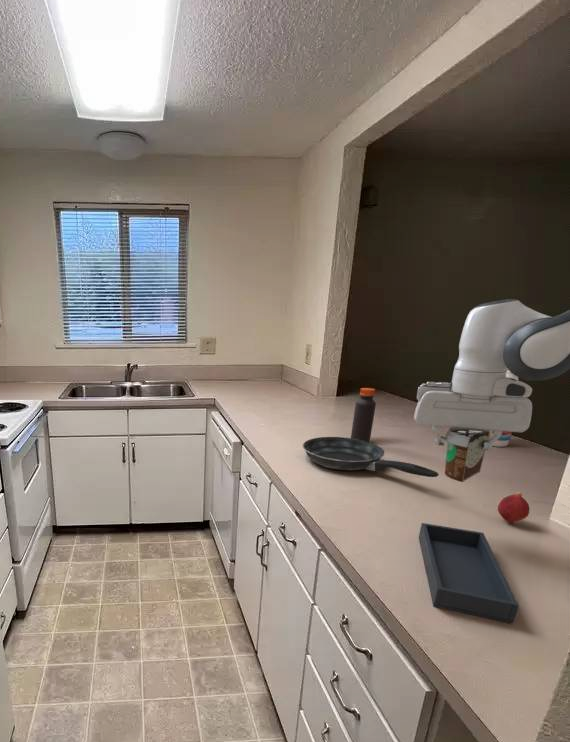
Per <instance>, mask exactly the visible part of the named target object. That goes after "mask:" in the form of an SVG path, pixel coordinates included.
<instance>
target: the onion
mask: <svg viewBox="0 0 570 742" xmlns="http://www.w3.org/2000/svg"><path fill="white" fill-rule="evenodd" d="M497 511H498V514H499V515H500V516H501V518H503V519H504V520H505V521H506V522H508V523H509V524H513V523H516V522H519V521H523V520H524V519H526V518H527V517H528V516H529V514H530V504H529V502H528V501H527V500H526V499H525V498H524V497H523V493H522V492H520V491H518V492H515V493H514V494H510V495H507V496H505V497H503V498H502V499H501V500H500V502H499V503H498V505H497Z"/></svg>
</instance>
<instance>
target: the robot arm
mask: <svg viewBox="0 0 570 742" xmlns="http://www.w3.org/2000/svg"><path fill="white" fill-rule="evenodd" d="M458 353H459V355H458V358H457V361H456V363H455V364H454V367H453V368H454V369H453V373H452V377H451V381H438V382H436V381H427V382H426V383H422V384H421V385H419V386H418V388H417V391H416V400H417V401H418V402H417V404H416V407H415V410H414V413H413V420H414V421H415V422H416V424H417V425H423V426H432V427H431V429H432V431H433V433H434V435H435V440H434V445H435V446H437V447H444V446H445V442H446V440H445V436H441V435H440V433H439V432H440V431H442V427H445V428H448V427H449V428H452V427H459V428H471V429H484V430H491V432H492V434H493V435H492V436H491V437H490V438H489V439H488V440H483V441H482V445H481V449H482V450H485V451H492V448H493V446H492V444H493V443H494V442H495V441H496V440H497V439H499V438H500V437H501V435H502V431H509V432H512V433H523V432H525V431H527V430H528V429H529V428H530V425H531V421H532V415H533V403H532V401H531V400H530V399H529V397H530V396H531V395H532V393H533V388H532V387H531V386H530V385H529V384H527V383H525V382H523V381H521V380H519V379H522V380H526V381H532V382H540V381H541V382H542V381H547V380H552V379H554V378H557V377H559V376H561V375H563V374H564V373H566V372H567V371H569V370H570V309H568V310H567V311H565V312H562V313H560V314H558V315H555V316H551V315H547V314H544V313H541V312H539V311H536V310H534V309H532V308H530V307H529V306H526V305H525V304H524V303H522V302H521V301H520V300H518V299H514V298H510V299H509V298H508V299H502V300H495V301H490V302H489V301H488V302H485V303H480V304H478V305H476V306H475V307H473V308H472V309H471V310H470V311H469V313H468V314H467V317H466V319H465V321H464V325H463V328H462V331H461V334H460V339H459V344H458ZM507 369H508V370H509V371H510V372H511V373H512V374H514V375H515V376H517V377H518V380H515V379H513V378H508V377H506V373H507Z"/></svg>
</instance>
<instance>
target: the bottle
mask: <svg viewBox="0 0 570 742" xmlns="http://www.w3.org/2000/svg"><path fill="white" fill-rule="evenodd" d="M359 390H360V391H359V397H360V398H359V399H357V400H356V401H355V406H354V412H353V420H352V426H351V432H350V433H351V434H350V438H352V439H358V440H363V441H366V442H370V443H371V437H372V431H373V424H374V418H375V412H376V406H377V403H376V401H375V400H374V398H375V394H376V388H371V387H361V388H360V389H359Z"/></svg>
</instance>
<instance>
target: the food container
mask: <svg viewBox="0 0 570 742" xmlns="http://www.w3.org/2000/svg"><path fill="white" fill-rule="evenodd" d="M490 431H491V430H484V429H471V428H459V427H449V428H448V430H447V431H446V433H445V435H444V438H445V442H447V444H446V445H447V446H446V455H445V465H444V475H445V476H446V477H447V478H449V479H452V480H454V481H456V482H461V483H464V482H465V481H467V480H469V479H471V478H472V477H474V476H477V474H479V473H481V469H482V465H483V461H484V457H485V454H486V450H482V449H481V445H482V441H483V440H488V437H490Z"/></svg>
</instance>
